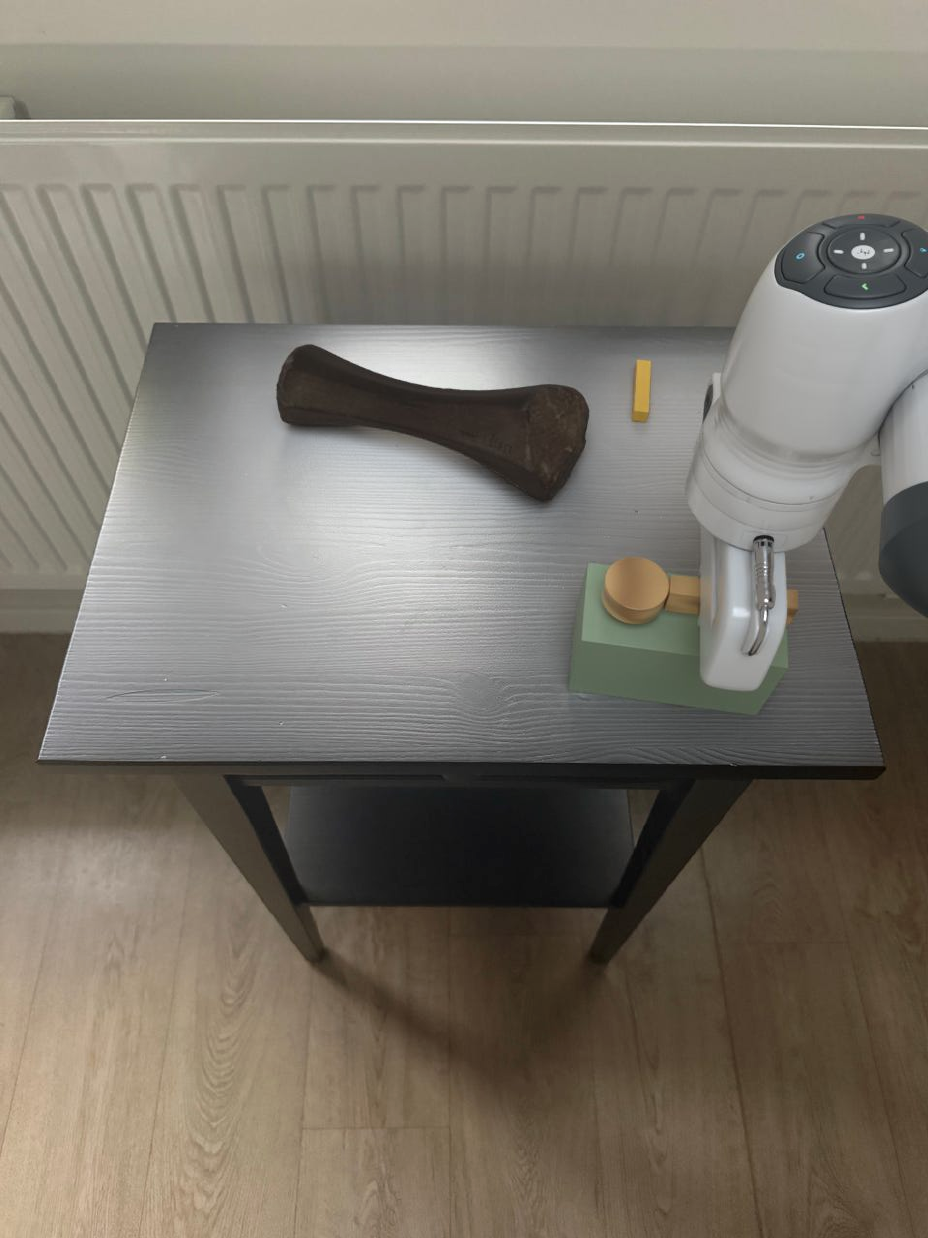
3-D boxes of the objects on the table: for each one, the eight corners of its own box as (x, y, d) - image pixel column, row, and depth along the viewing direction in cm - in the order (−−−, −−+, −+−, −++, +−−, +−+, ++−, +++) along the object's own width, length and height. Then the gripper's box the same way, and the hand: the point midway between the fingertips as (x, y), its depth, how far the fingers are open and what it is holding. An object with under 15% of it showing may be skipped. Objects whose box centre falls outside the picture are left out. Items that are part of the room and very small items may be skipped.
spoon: (786, 590, 70) (797, 572, 68) (789, 644, 67) (800, 626, 65) (602, 568, 70) (607, 549, 68) (599, 620, 68) (604, 602, 66)
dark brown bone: (585, 481, 89) (313, 437, 95) (600, 370, 84) (311, 331, 90) (561, 524, 80) (262, 471, 86) (576, 402, 75) (257, 356, 81)
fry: (648, 371, 94) (651, 360, 93) (646, 422, 91) (648, 412, 89) (634, 369, 94) (637, 358, 93) (631, 420, 91) (634, 410, 89)
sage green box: (754, 640, 78) (784, 587, 71) (756, 716, 74) (788, 667, 68) (574, 616, 79) (587, 562, 72) (567, 690, 75) (581, 640, 68)
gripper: (828, 631, 51) (756, 738, 63) (808, 365, 61) (749, 499, 73) (710, 617, 51) (661, 725, 63) (711, 355, 62) (668, 489, 74)
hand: (708, 602), depth 68 cm, fingers closed on spoon, 2 cm apart
